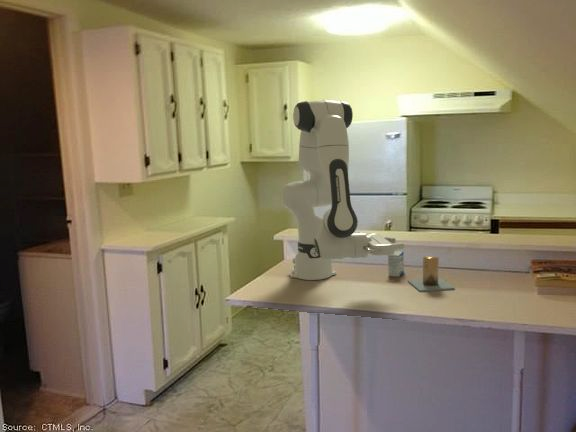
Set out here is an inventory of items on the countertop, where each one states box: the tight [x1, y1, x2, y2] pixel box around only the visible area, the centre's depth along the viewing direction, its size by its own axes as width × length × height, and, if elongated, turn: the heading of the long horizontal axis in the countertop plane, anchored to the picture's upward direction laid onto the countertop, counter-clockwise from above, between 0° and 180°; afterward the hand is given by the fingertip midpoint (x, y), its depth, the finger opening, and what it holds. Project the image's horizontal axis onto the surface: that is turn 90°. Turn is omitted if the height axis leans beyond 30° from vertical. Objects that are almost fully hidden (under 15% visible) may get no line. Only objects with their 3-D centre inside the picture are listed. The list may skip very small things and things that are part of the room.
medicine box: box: [387, 250, 405, 278], centre depth 210 cm, size 8×4×9 cm, turn 154°
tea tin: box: [422, 255, 440, 286], centre depth 193 cm, size 6×6×10 cm
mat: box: [407, 277, 456, 293], centre depth 194 cm, size 13×13×1 cm
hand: (399, 242), depth 185 cm, fingers open, 8 cm apart
